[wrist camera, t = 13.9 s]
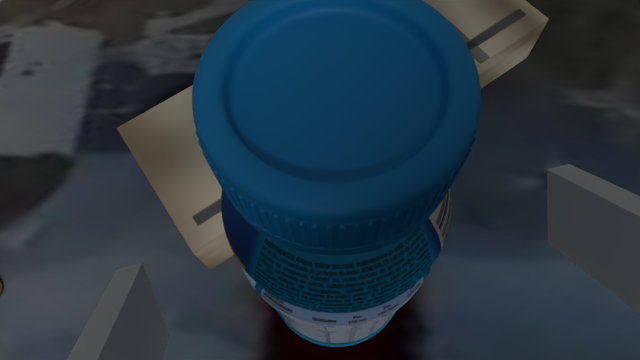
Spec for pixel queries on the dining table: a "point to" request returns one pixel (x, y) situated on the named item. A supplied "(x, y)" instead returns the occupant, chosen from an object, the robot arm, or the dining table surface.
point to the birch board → (200, 182)
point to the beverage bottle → (336, 152)
